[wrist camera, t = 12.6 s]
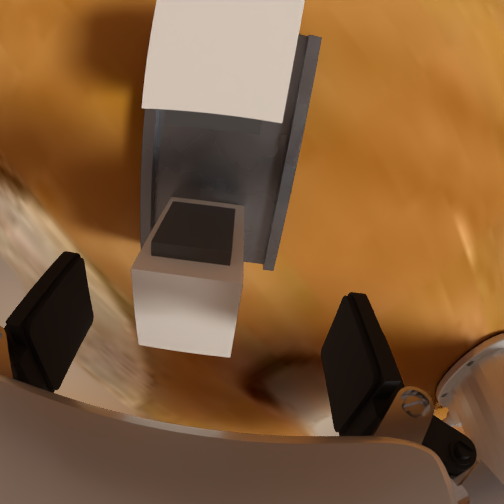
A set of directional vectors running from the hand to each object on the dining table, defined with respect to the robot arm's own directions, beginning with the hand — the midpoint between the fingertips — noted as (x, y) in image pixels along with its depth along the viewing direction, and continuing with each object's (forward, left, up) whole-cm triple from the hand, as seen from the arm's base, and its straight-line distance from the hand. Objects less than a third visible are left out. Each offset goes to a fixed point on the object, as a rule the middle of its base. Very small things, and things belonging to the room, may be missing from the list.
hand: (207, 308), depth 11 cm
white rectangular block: (-1, +1, -8) cm, 8 cm away
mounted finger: (+8, +1, -8) cm, 11 cm away
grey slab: (+4, +1, -9) cm, 9 cm away
